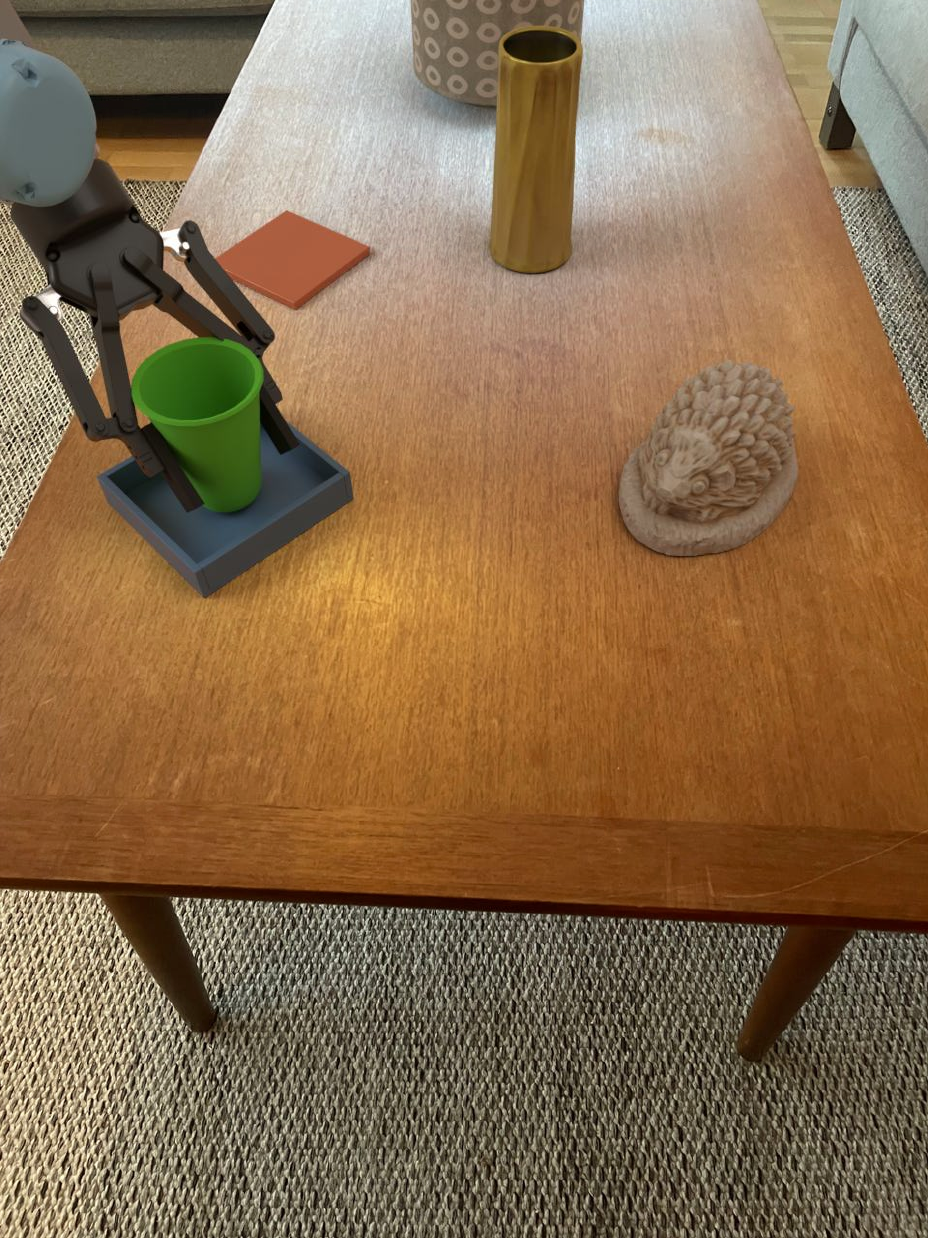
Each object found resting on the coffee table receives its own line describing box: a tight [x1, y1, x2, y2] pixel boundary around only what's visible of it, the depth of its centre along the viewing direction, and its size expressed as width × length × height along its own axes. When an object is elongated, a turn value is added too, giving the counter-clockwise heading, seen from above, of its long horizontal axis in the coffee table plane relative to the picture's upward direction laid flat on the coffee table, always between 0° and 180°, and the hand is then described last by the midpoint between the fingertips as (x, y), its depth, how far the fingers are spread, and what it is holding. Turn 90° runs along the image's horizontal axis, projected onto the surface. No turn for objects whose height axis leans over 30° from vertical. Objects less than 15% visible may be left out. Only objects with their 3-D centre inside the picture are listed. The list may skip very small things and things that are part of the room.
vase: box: [488, 26, 584, 274], centre depth 89 cm, size 8×8×19 cm
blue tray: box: [96, 419, 355, 599], centre depth 76 cm, size 14×13×3 cm
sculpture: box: [618, 359, 800, 557], centre depth 74 cm, size 12×17×10 cm
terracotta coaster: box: [214, 209, 371, 310], centre depth 96 cm, size 11×11×1 cm
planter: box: [410, 0, 585, 110], centre depth 109 cm, size 19×19×18 cm
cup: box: [130, 336, 263, 512], centre depth 72 cm, size 9×9×11 cm
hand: (243, 478), depth 72 cm, fingers closed on cup, 8 cm apart
